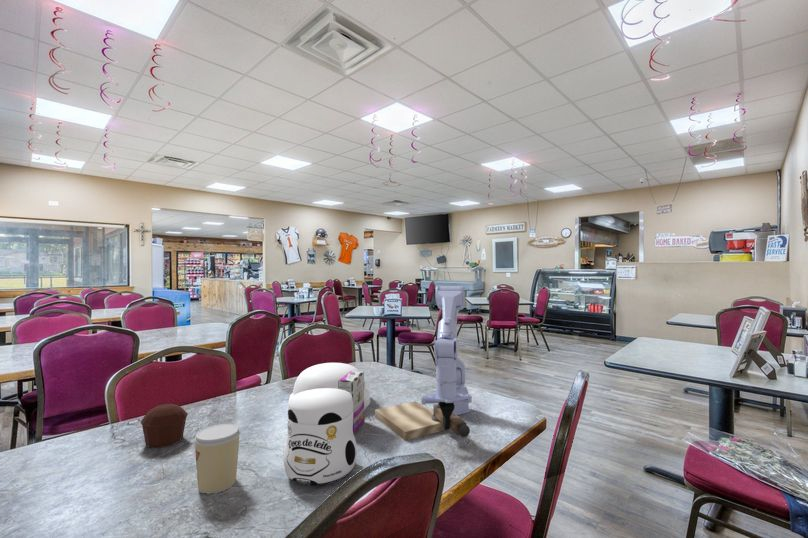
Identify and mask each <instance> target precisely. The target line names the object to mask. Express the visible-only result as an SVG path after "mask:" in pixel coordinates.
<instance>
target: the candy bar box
mask: <svg viewBox="0 0 808 538" xmlns="http://www.w3.org/2000/svg"><path fill="white" fill-rule="evenodd" d="M364 380H365V371H364V370H363V371H361V370H359V371H350V372H349V373H347V374H346V375H345V376H344V377H342V378H341V379H340V380H338V389H341V390H345V391H347V392H350V394H351V395H352V398H353V433H354V435H355V434H356V433H357V431H358V430H359V428H360V427H361V426H362V425H363V423H364V422H365V411H364Z"/></svg>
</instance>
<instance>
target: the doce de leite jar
mask: <svg viewBox="0 0 808 538" xmlns="http://www.w3.org/2000/svg"><path fill="white" fill-rule="evenodd" d="M289 398H290V397H289ZM289 398H288V402H287V403H288V404H287V418H286V419H287V437H286V438H287V439H286V441H285V447H284V450H283V457H282V458H283V459H282V461H283V468H284V471H285V473H286V476H287V477H288V478H289V479H290V480H291V481H292V482H295V483H297V484H299V485H303V486H311V487H315V486H317V487H318V486H325V485H329V484H331V483H335V482H338V481H339V480H341V479H343V478H345V477H346V476H348V475H349V473H351V471H352V470H353V469H354V467H355V465H356V460H357V454H358V447H357V441H356V437H355V434H354V433H353V398H352V395H351V394H350V392H347V391H345V390H341V389H335V388H320V389H312V390H307V391H303V392H300V393H297V394H295V395H293V396H292V397H291V398H290V399H289Z"/></svg>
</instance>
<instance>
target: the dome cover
mask: <svg viewBox="0 0 808 538" xmlns="http://www.w3.org/2000/svg"><path fill="white" fill-rule="evenodd" d="M350 371H360V370H359V369H358V368H357V367H355V366H353V365H351V364H348V363H343V362H325V363H324V362H323V363H318V364H315V365H312V366H310V367H307V368H306V369H304V370H303V371H301V372H300V374H299V375H298V376H297V378H296V379H295V382H294V385H293V388H292V389H293V390H292V393H291V394H290V395H289V398H288V400H289V399H290V398H291V397H292V396H293V395H295V394H297V393H300V392H303V391H307V390H312V389H320V388H335V389H338V380H340V379H341V378H342V377H344V376H345V375H346V374H347V373H349V372H350ZM366 385H367V384H366V381H365V379H364V410H365V411H366V408H367V407H368V406H370V404H371V394H370V391H369V389H368V388H367V386H366Z"/></svg>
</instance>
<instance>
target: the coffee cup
mask: <svg viewBox="0 0 808 538" xmlns="http://www.w3.org/2000/svg"><path fill="white" fill-rule="evenodd" d="M240 434H241V429H240V428H239V425H237V424H234V423H219V424H214V425H210V426H207V427H204V428H202V429H201V430H199V431H198V432H197V433H196V434H195V436H194V440H193V441H194V444H195V445H194V448H195V463H196V478H197V488H198V491H199V492H200V493H201V494H204V493H207V494H208V495H211V494H210V493H214V494H218V492H219V493H221V491H222V492H225V491H226V489H227V490H229V489H230V488H232V487H233V486H234V485H235V483H236V481H237V474H238V473H237V471H238V463H239V462H238V461H239V460H238V459H239V447H240ZM232 485H233V486H232ZM207 494H206V495H207Z"/></svg>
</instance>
